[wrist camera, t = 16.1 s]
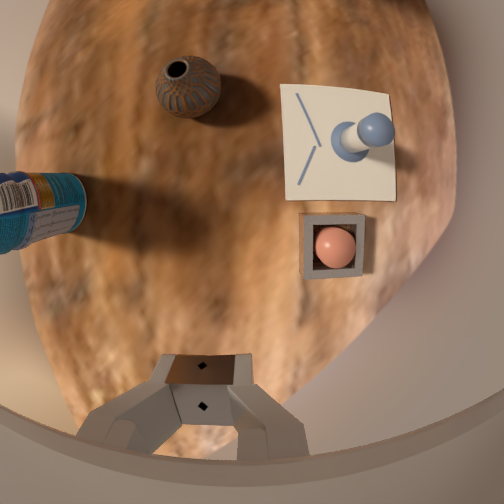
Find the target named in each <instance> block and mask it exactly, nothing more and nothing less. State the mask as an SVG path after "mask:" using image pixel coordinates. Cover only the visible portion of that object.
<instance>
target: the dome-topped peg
mask: <svg viewBox="0 0 504 504" xmlns="http://www.w3.org/2000/svg"><path fill="white" fill-rule="evenodd" d="M394 136H395V128H394V125H393V123H392V121H391V120H390V119H389V118H388V117H387V116H386V115H384V114H382V113H378V112H375V113H372V114H370V115H368V116H366V117H364V118H363V119H361V120H360V121H359V122H358V123H356V124H354V125H352V126H351V127H349V128H347V129H345V130H344V131H343V132H342V133H341V134H340V137H339V142H340V145H341V147H342V148H343V149H344V150H345V151H346V152H348V153H357V152H360V151H363V150H367V149H370V148H377V147H381V146H385V145H388V144H390V143H391V142H392V141H393V139H394Z"/></svg>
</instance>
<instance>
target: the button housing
mask: <svg viewBox="0 0 504 504" xmlns="http://www.w3.org/2000/svg"><path fill="white" fill-rule="evenodd" d="M331 224H348V233H349V234H351V236H352V237H353V239H354V241H355V245H356V251H355V255H354V257H353V259H352V260H351V261H350V263H348V264H347V265H346V266H344V267H341V268H331V267H328V266H327V265H325V264H324V263H313V225H331ZM364 235H365V215H363V214H359V213H356V212H346V213H299V272H300V274H301V276H302V278H303V280H306V279H325V278H341V277H356V276H362V273H363V257H364Z"/></svg>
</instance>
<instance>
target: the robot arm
mask: <svg viewBox="0 0 504 504" xmlns="http://www.w3.org/2000/svg"><path fill="white" fill-rule="evenodd" d="M182 424H191V425H221V426H234V427H235V429H236V430H237V432H238V433H239V434H238V449H237V450H238V451H237V460H206V459H205V460H204V459H191V458H180V457H171V456H163V455H156V454H152V453H153V452H154V451H155V450H157V449H158V448H159V447H160V446H161V445H162V444H163V443H164V442H165V441H166V440H167V439H168V438H169V437H170V436H172V435H173V434H174V433H175V432H176V431H177V430H178V429H179V428H180V427H181V426H182ZM0 504H504V389H502V390H501V391H499V392H497V393H495V394H494V395H492V396H490V397H488V398H487V399H485V400H483V401H481V402H479V403H477V404H475V405H473V406H471V407H469V408H467V409H465V410H463V411H461V412H459V413H456V414H454V415H452V416H450V417H448V418H445V419H443V420H440V421H438V422H436V423H433V424H430V425H428V426H426V427H423V428H420V429H417V430H414V431H411V432H408V433H405V434H402V435H399V436H396V437H393V438H390V439H386V440H382V441H379V442H375V443H371V444H368V445H363V446H359V447H354V448H350V449H345V450H340V451H334V452H329V453H323V454H316V455H309V450H308V445H307V440H306V435H305V430H304V425H303V423H301V422H300V421H299V420H298V419H297V418H295V417H294V416H293V415H292V414H290V413H289V412H288V411H287V410H285V409H284V408H283V407H282V406H281V405H280V404H279V403H277V402H276V401H275V400H274V399H273V398H272V397H271V396H269V395H268V394H267V393H266V392H265V391H264V390H263V389H261V388H260V387H259V386H258V385H257V384H254V376H253V362H252V354H251V353H248V354H236V355H212V356H206V355H181V354H178V355H177V354H163V355H161V357H160V359H159V361H158V363H157V365H156V367H155V369H154V371H153V373H152V375H151V377H150V379H149V381H148V382H143V383H141V384H139V385H138V386H136V387H134V388H133V389H131V390H129V391H127V392H125V393H124V394H122V395H120V396H118V397H117V398H115V399H113V400H111V401H109V402H108V403H106V404H104V405H102V406H100V407H98V408H96V409H95V410H93V411H91V412H90V413H89V414H88V416H87V418H86V419H85V421H84V423H83V424H82V426H81V428H80V429H79V431H78V433H77V434H76V436H74V435H71V434H68V433H65V432H62V431H59V430H57V429H54V428H51V427H49V426H46V425H44V424H41V423H39V422H36V421H34V420H31V419H29V418H27V417H25V416H23V415H21V414H18V413H16V412H14V411H12V410H10V409H8V408H6V407H4V406H2V405H0Z"/></svg>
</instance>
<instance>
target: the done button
mask: <svg viewBox="0 0 504 504" xmlns="http://www.w3.org/2000/svg"><path fill="white" fill-rule="evenodd" d="M313 251H314V253H315V254H316V255H317V257H318V258H319V259H320V260H321V261H322V262H323V263H324V264H325V265H327V266H328V267H331V268H341V267H344V266H346V265H347V264H348V263H350V261H351V260H352V259H353V257H354V255H355V251H356V245H355V241H354V239H353V237H352V236H351V234H349V233H348V232H347V231H345V230H342V229H340V228H338V227H336V226H333V225H326V226H323V227H321V228H320V229H318V230H317V231H316V232H315V234H314V236H313Z"/></svg>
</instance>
